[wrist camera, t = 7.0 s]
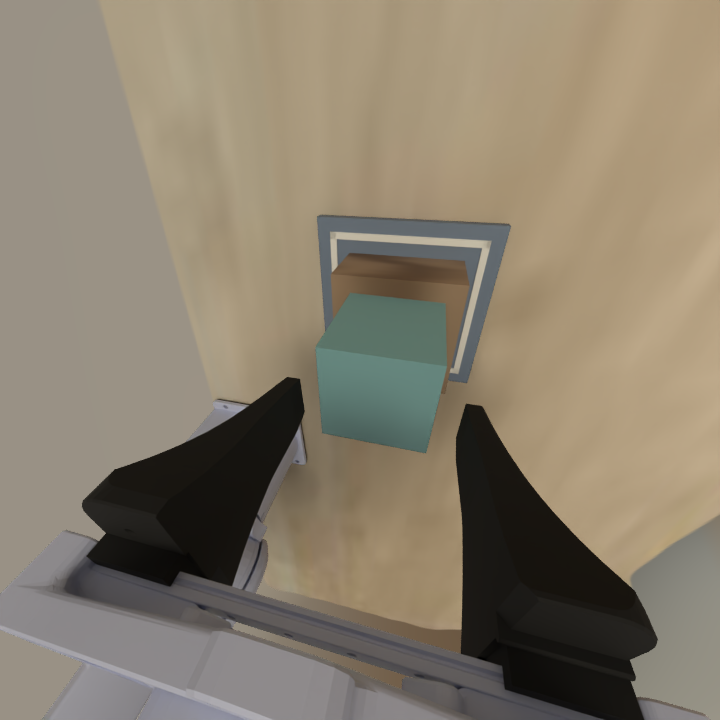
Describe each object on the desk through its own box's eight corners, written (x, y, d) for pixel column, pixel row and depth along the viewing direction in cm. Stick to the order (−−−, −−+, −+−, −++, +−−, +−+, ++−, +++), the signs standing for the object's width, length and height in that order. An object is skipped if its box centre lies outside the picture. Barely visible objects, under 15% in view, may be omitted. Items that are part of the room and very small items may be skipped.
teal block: (350, 367, 19) (322, 433, 14) (350, 292, 16) (315, 347, 12) (429, 379, 18) (426, 453, 14) (445, 303, 15) (446, 366, 11)
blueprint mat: (329, 359, 25) (327, 364, 24) (320, 214, 18) (316, 217, 18) (466, 378, 23) (467, 383, 22) (508, 223, 16) (511, 226, 16)
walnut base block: (351, 346, 23) (336, 377, 20) (349, 252, 19) (330, 273, 16) (444, 357, 22) (444, 394, 18) (464, 260, 18) (469, 285, 14)
